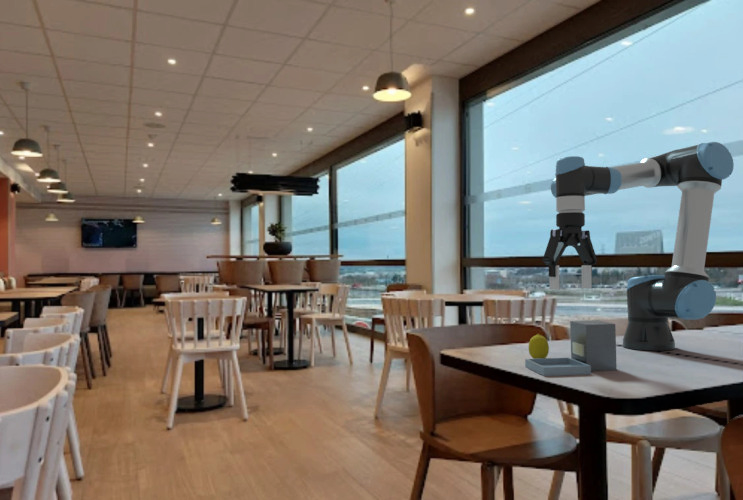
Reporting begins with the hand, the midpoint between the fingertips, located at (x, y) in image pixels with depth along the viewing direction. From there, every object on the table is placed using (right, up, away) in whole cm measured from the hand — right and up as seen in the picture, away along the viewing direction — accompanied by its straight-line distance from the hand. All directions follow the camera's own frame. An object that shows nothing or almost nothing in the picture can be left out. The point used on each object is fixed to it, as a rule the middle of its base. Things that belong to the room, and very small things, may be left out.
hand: (570, 288), depth 153 cm
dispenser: (+4, -21, -6) cm, 22 cm away
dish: (-7, -21, -9) cm, 24 cm away
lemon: (-8, -21, +3) cm, 23 cm away
